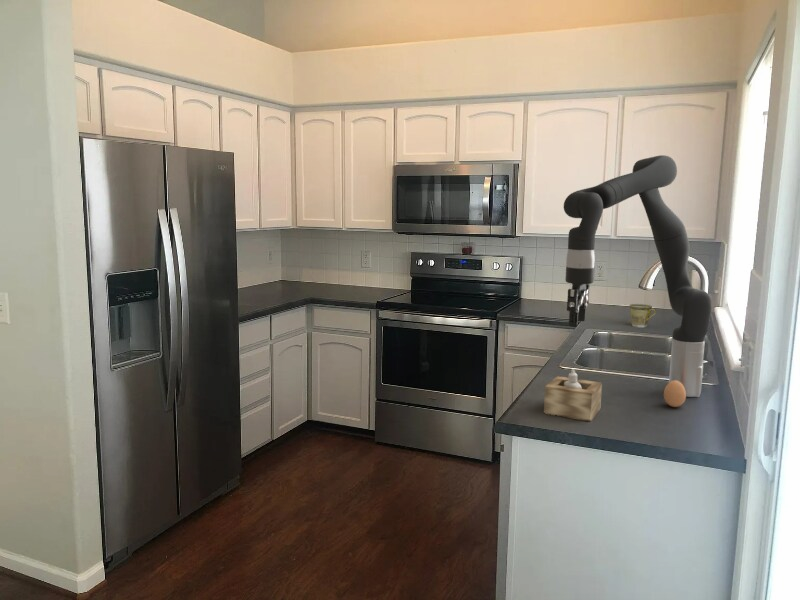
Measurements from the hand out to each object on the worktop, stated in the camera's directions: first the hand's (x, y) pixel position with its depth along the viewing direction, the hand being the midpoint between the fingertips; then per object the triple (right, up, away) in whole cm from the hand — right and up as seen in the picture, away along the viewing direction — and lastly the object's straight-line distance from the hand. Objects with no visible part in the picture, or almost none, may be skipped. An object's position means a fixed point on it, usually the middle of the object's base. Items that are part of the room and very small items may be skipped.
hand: (577, 323), depth 181 cm
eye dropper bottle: (0, -25, +4) cm, 25 cm away
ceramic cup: (+65, -6, +126) cm, 143 cm away
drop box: (0, -25, +4) cm, 26 cm away
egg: (+31, -25, +9) cm, 41 cm away
